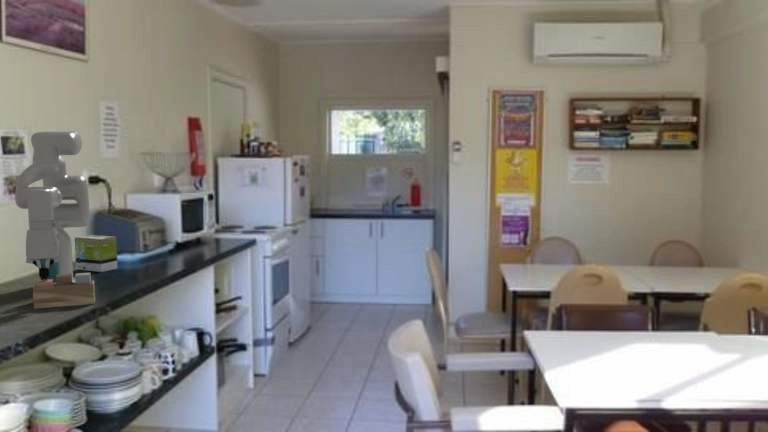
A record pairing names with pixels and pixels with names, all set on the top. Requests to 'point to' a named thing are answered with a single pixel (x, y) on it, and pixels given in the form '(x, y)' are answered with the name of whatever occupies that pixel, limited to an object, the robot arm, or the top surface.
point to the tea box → (96, 253)
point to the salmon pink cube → (44, 283)
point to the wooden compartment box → (64, 295)
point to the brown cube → (64, 279)
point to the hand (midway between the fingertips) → (44, 279)
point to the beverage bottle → (52, 270)
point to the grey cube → (83, 278)
